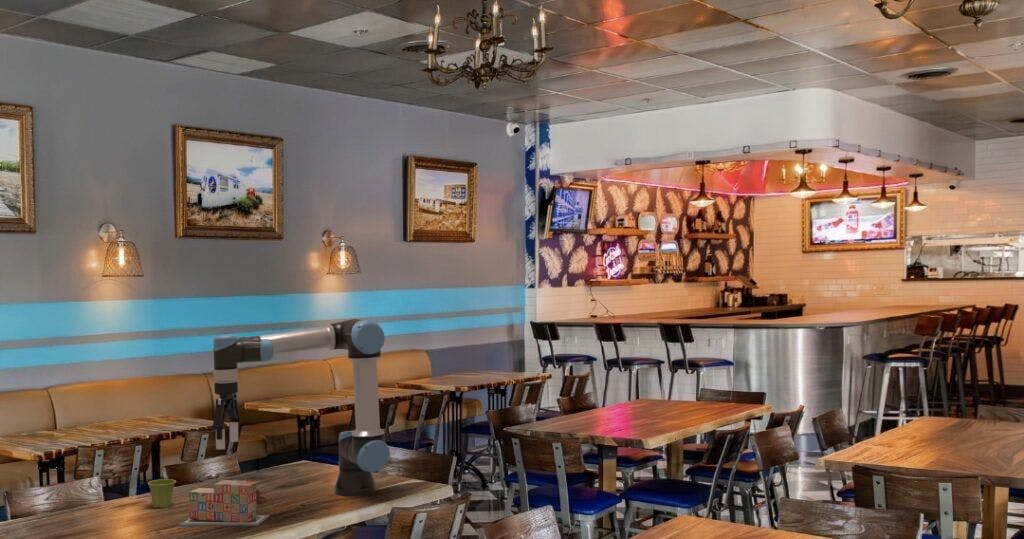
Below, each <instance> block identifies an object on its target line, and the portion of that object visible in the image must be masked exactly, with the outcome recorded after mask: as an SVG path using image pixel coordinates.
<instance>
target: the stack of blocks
mask: <svg viewBox="0 0 1024 539" xmlns="http://www.w3.org/2000/svg"><path fill="white" fill-rule="evenodd" d="M257 485H258V484H257V481H248V480H233V479H232V480H228V479H222V480H221V481H220V480H219V481H218V482H216V483H214V484H213V488H211V487H210V488H208V487H198V488H196V489H193V490H190V491H189V495H188V496H189V498H188V499H189V518H190V519H197V520H211V521H227V522H241V523H248V522H250V521H252V520H254V519H256V518H257V515H258V514H257V513H258V510H257V507H258V505H257V503H258V500H257V490H258V489H257Z"/></svg>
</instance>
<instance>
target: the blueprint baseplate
mask: <svg viewBox="0 0 1024 539" xmlns="http://www.w3.org/2000/svg"><path fill="white" fill-rule="evenodd" d="M269 517H271V515H270V514H257V518H256V519H254V520H252V521H250V522H248V523H241V522H227V521H211V520H197V519H190V517H188V518H187V519H185V520H184V521H183V522H181V523H179V524H178V527H183V528H184V527H186V526H187V527H258V526H259V525H261V524H262V523H263V522H265V520H267V519H269ZM260 523H261V524H260Z"/></svg>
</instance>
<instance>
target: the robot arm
mask: <svg viewBox="0 0 1024 539" xmlns="http://www.w3.org/2000/svg"><path fill="white" fill-rule="evenodd" d="M385 337H386V336H385V333H384V329H383V328H382V327H381V326H380V324H378V323H376V322H375V321H372V320H370V319H358V318H353V319H346V320H344V321H343V320H342V321H339V322H333V323H328V324H326V326H325V327H323V326H322V327H316V328H311V329H310V328H309V329H303V330H294V331H287V332H278V333H270V334H269V333H268V334H262V335H257V336H256V335H255V336H254V335H253V336H247V337H246V336H239V337H237V336H236V335H235V334H223V335H217V336H215V337H214V338H213V350H212V351H213V372H212V375H214V376H213V378H214V380H213V381H215V383H214V387H213V388H214V394H215V395H219V398H216V399H215V407H214V408H215V409H214V416H213V424H212V430H214V431H215V450H226V436H225V434H226V430H225V429H226V428H224V427H225V423H226V417H227V415H228V418H229V421H230V422H229V442H231V443H233V442H234V443H235V442H239V423H241V420H242V419H241V414H240V409H239V404H238V398H237V393H238V392H239V384H238V383H239V382H238V380H239V376H238V375H239V374H238V373H239V372H238V364H241V363H257V362H262V363H263V362H269V361H272V359H273V357H274V356H276V355H277V356H278V355H283V354H291V353H292V354H293V353H300V352H306V351H307V352H308V351H312V350H313V351H314V350H322V349H328V350H331V351H334V350H346V351H347V358H348V360H350V362H352V371H353V372H352V374H353V393H354V395H353V396H354V415H355V417H354V418H355V429H354V430H346V431H341V432H339V434H338V469H339V471H338V475H337V479H336V482H335V486H334V494H335V495H337V496H339V497H340V496H341V497H362V496H367V495H368V496H369V495H372V494H374V493H376V492H377V486H376V483H375V479H374V477H373V476H374V475H373V473H376V472H379V471H381V470H382V469H384V468H385V466H386V465H387V464H388V462H389V460H390V457H391V452H390V447H389V445H388V444H387V442H386V438H385V436H386V435H385V431H384V430H383V429H382V428H381V426H380V423H381V422H380V421H381V420H380V404H379V381H378V380H379V378H378V377H379V376H378V361H379V360H380V358H381V357H382V353H381V352H382V351H381V349H382V348H383V347H384V344H385V340H386V338H385Z"/></svg>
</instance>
